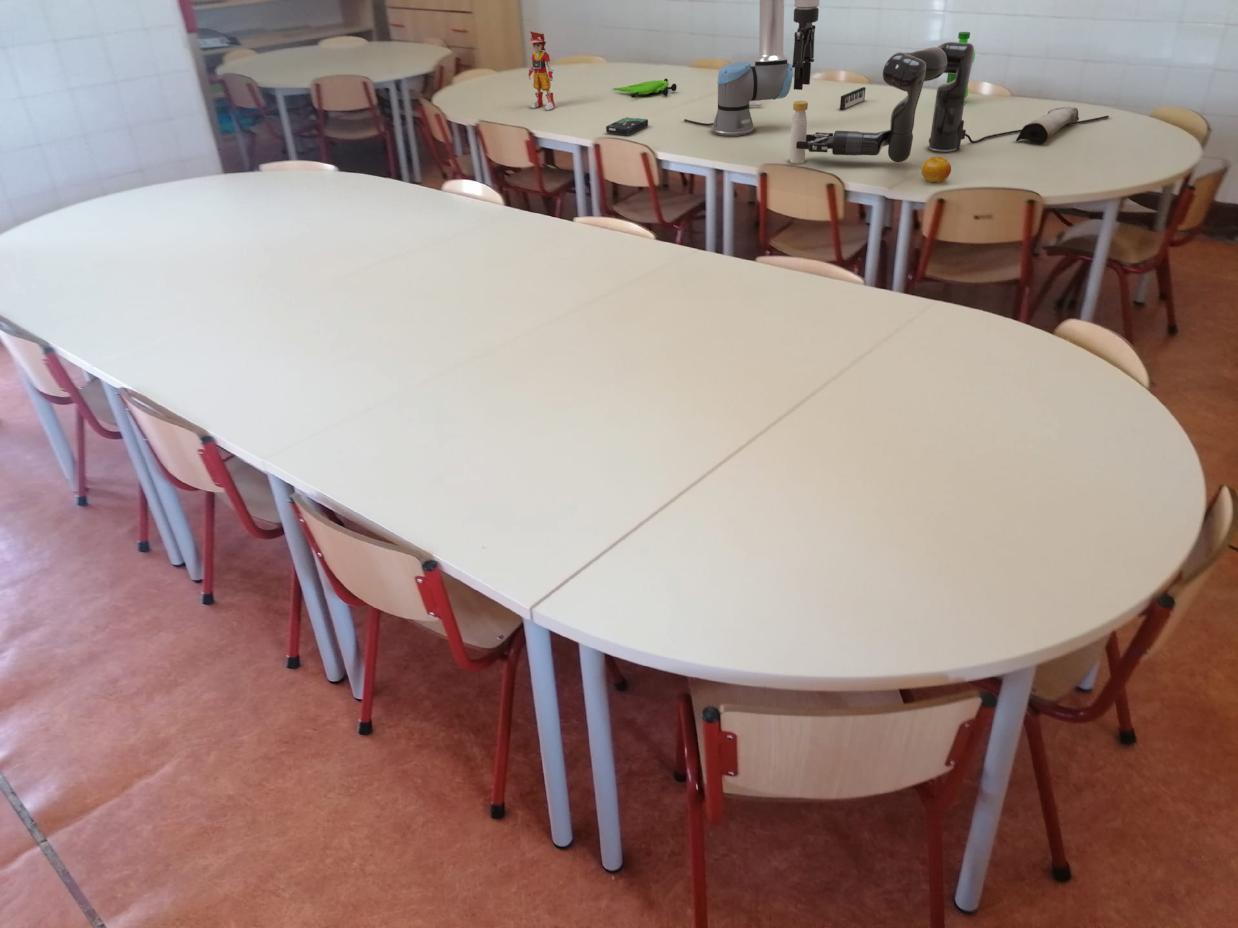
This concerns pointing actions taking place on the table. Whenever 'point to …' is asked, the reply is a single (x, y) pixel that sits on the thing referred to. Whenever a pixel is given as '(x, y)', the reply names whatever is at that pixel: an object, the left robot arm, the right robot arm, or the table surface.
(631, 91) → the toy
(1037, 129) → the rolled mat
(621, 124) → the disk drive
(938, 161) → the fruit
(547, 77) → the toy
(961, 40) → the plastic bottle
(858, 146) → the right robot arm
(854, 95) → the midi keyboard
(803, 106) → the cap
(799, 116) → the bottle
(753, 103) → the anatomical model
